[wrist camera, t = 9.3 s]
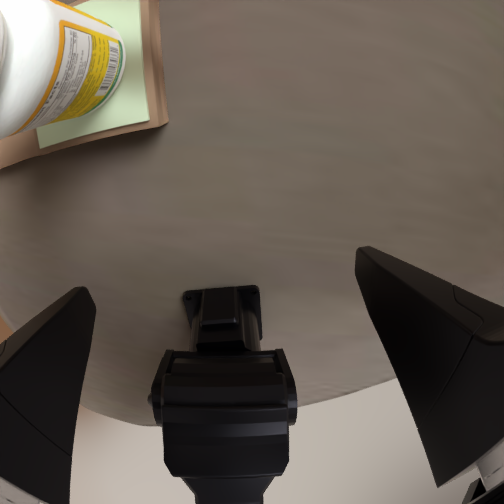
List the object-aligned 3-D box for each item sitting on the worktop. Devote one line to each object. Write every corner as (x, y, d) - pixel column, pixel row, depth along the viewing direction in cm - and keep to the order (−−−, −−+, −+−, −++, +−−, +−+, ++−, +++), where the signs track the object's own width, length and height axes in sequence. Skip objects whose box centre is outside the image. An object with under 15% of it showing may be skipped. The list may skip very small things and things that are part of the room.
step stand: (168, 121, 18) (157, 127, 15) (1, 167, 18) (-22, 179, 15) (158, -8, 13) (146, -24, 10) (-12, 63, 13) (-37, 65, 10)
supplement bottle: (145, 79, 14) (18, 71, 4) (64, 136, 15) (-73, 205, 5) (105, 1, 11) (-17, -57, 1) (29, 62, 12) (-108, 79, 2)
